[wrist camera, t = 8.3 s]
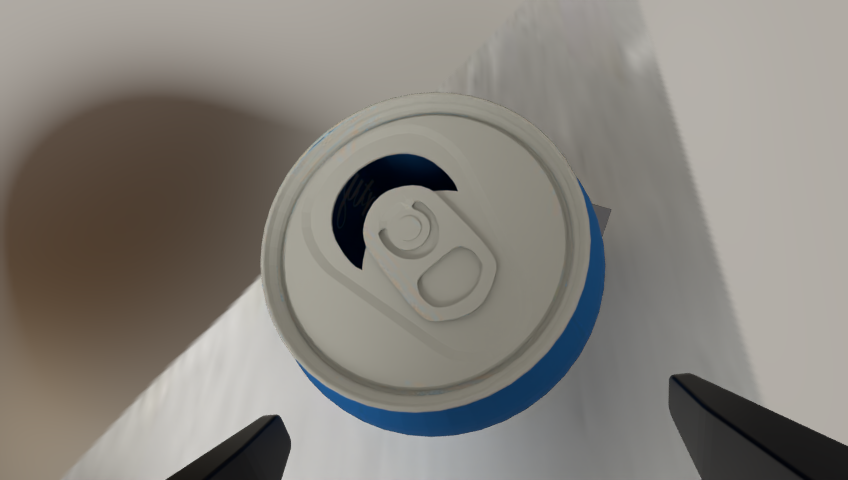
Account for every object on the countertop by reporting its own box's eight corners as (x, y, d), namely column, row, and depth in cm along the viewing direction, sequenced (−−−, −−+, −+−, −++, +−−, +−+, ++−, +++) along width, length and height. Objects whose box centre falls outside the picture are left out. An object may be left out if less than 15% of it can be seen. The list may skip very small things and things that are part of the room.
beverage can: (484, 228, 20) (441, 17, 9) (591, 339, 17) (723, 244, 6) (374, 319, 19) (181, 222, 8) (467, 447, 17) (371, 552, 6)
